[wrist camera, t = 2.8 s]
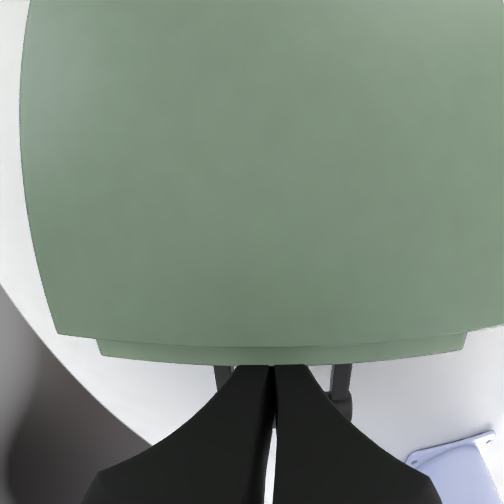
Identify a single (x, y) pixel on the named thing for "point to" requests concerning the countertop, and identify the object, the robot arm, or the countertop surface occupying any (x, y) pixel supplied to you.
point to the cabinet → (265, 169)
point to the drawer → (288, 358)
